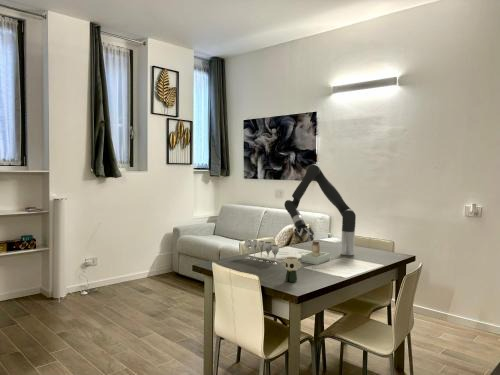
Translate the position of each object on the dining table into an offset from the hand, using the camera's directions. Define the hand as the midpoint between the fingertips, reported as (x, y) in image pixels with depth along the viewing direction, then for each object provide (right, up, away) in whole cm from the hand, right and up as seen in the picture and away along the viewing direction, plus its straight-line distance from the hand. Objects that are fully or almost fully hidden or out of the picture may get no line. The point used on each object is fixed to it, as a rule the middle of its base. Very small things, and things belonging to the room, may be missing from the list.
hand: (307, 240), depth 280 cm
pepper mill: (+4, -11, -11) cm, 16 cm away
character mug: (-18, -14, -62) cm, 66 cm away
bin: (+4, -12, -11) cm, 17 cm away
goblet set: (-33, -12, -14) cm, 38 cm away
